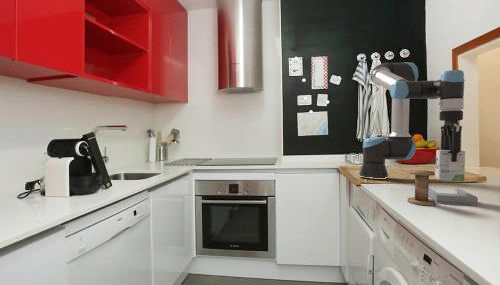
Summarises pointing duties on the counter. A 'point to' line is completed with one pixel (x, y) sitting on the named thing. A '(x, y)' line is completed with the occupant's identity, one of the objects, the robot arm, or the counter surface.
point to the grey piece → (453, 197)
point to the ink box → (442, 166)
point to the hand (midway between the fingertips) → (449, 169)
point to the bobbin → (421, 188)
